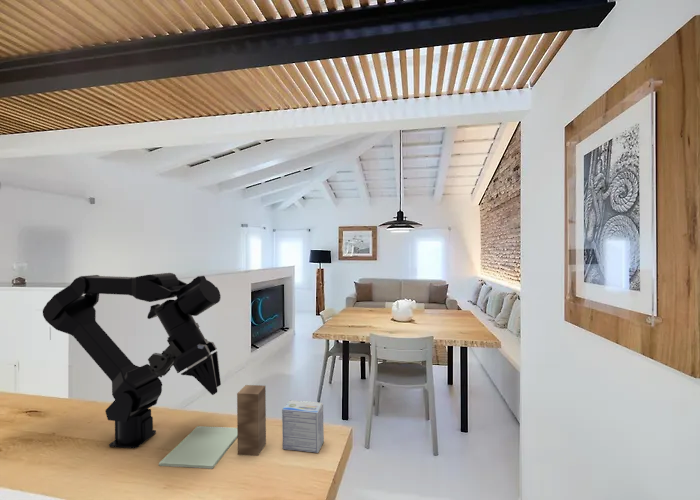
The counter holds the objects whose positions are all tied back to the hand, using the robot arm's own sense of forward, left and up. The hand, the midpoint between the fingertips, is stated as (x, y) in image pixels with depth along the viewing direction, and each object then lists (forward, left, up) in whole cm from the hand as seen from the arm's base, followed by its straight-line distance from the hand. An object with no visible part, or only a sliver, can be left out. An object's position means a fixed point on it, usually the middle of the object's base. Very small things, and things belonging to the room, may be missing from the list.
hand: (216, 389), depth 73 cm
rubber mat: (-3, 0, -12) cm, 12 cm away
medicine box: (+18, +2, -12) cm, 22 cm away
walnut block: (+8, 0, -12) cm, 14 cm away
